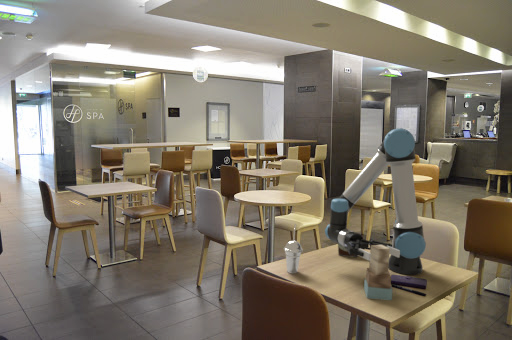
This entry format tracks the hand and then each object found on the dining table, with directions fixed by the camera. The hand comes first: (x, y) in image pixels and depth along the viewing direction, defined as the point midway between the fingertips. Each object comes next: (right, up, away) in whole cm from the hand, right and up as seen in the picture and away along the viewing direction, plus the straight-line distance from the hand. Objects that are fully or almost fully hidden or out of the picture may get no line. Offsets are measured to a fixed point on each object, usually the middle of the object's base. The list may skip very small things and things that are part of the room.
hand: (384, 255), depth 150 cm
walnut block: (-1, -12, +4) cm, 12 cm away
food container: (-2, -11, +53) cm, 54 cm away
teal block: (-1, -16, +4) cm, 17 cm away
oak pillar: (-1, -7, +4) cm, 8 cm away
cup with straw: (-32, -13, +26) cm, 43 cm away
